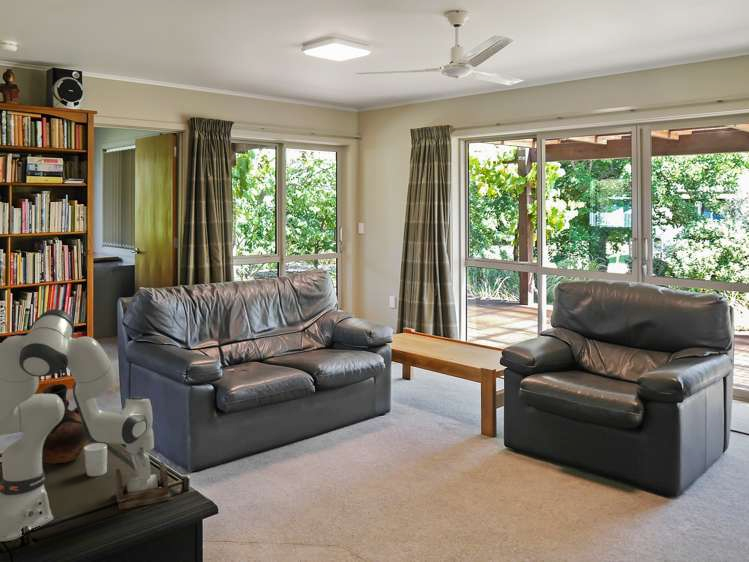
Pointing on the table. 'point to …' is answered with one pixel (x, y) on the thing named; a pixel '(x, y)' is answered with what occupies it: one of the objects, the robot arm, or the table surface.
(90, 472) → the white cup
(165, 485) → the roll holder
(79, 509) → the table surface
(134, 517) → the table surface
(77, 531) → the table surface
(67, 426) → the ceramic vessel
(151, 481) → the paper roll
